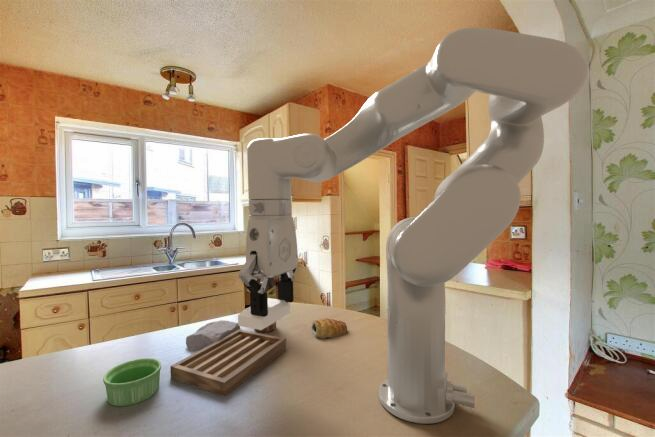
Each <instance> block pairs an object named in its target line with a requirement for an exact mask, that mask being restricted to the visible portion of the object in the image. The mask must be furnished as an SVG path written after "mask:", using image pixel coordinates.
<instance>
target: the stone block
mask: <svg viewBox="0 0 655 437" xmlns="http://www.w3.org/2000/svg"><path fill="white" fill-rule="evenodd" d="M239 329H241V326H238V322H235V321H230V320H225V319H224V320H223V319H220V320H217V321H212V322H208V323H206V324H205V325H202V326H200V327H199V328H198V329H197V330H196V331H195V332H193V333H192V334H189V335H187V336H186V337H185V338H186V339H185V344H186V348H187V349H188V350H191V351H196V352H198V351H200V350H201V349H203V348H205V347H207V346H209V345H211V344H213V343H215V342H216V341H218V340H220V339H222V338H224V337H226V336H228V335H230V334H231V333H233V332H235V331H237V330H239Z"/></svg>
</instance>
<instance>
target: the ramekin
mask: <svg viewBox="0 0 655 437" xmlns="http://www.w3.org/2000/svg"><path fill="white" fill-rule="evenodd" d="M161 370H162V363H161V361H160V360H159V359H156V358H150V357H145V358H143V357H142V358H138V359H132V360H128V361H125V362H122V363H120V364H118V365H116V366H114V367H112V368H110V369H109V370H108V371H107V372H106V373H105V374H104V375H103V377H102V380H103V383H104V386H105V392H106V398H107V402H108V403H109V404H111V405H112V406H113V407H114V406H115V407H126V406H132V405H135V404H139V403H140V402H143V401H145V400H147V399H149V398H151V397H152V396H154V394H155V393H156V392H157V391H158V389H159V388H160V379H161V378H160V374H161Z"/></svg>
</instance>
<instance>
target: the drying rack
mask: <svg viewBox="0 0 655 437" xmlns="http://www.w3.org/2000/svg"><path fill="white" fill-rule="evenodd" d="M285 350H287V338H284V337H279V336H274V335H271V334H270V335H269V334H263V333H262V332H257V331H255V332H254V331H249V330H244V329H241V328H240V329H239V330H237V331H235V332H233V333H231V334H230V335H228V336H226V337H224V338H222V339H220V340H218V341H216V342H215V343H213V344H211V345H209V346H207V347H205V348H203V349H201V350H200V351H196V352H195V353H194V352H193V353H192V354H190V355H188V356H187V357H185V358H183V359H181V360H179V361H177V362H175V363H174V364H172V365H170V369H169V370H170V379H171V380H174V381H176V382H180V383H183V384H186V385H189V386H192V387H194V388H199V389H200V390H201V389H202V390H204V391H208V392H211V393H214V394H216V395H219V396H221V397H222V396H223V397H226V396H228V394H230V393H231V392H232V391H234V390H235V389H237V388H238V387H239V386H240V385H242V384H243V383H245V382H246V380H248V379H250V378H251V377H252V376H253V375H254V374H256V373H257V372H258V371H260V370H261V369H262V368H264V367H265V366H266V365H267V364H269V363H271V361H273V360H274V359H276V358H277V357H278V356H279V355H280V354H282V353H284V352H285Z"/></svg>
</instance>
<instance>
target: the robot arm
mask: <svg viewBox="0 0 655 437" xmlns="http://www.w3.org/2000/svg"><path fill="white" fill-rule="evenodd" d="M587 75H588V64H587V61H586V59H585V57H584V54H583V53H582V52H581V51H580V50H579V49H577V48H576V47H575V46H573V45H572V44H569V43H568V42H566V41H564V40H563V41H562V40H559V39H555V38H550V37H543V36H538V35H531V34H526V33H522V32H521V33H520V32H515V31H509V30H505V29H504V30H503V29H496V28H487V27H465V28H459V29H456V30H454V31H452V32H449V33H448V34H447V35H445V36H444V37H443V38H442V39H441V40H440V42H439V43H438V45H437V46H436V48H435V50H434V52H433V55H432V56H431V59H430V60H429V61H428V62H427V63H425V64H423V65H421V66H419V67H418V68H416V69H414V70H413V71H411V72H410V73H408V74H405V75H403V77H401V78H398V79H397V80H395V81H394V82H392V83H390V84H388V85H387V86H385V87H383V88H381V89H380V90H378V91H376V92H375V93H373V94H371V96H370V97H369V98H367V100H366V101H365V102H364V104H363V105H362V106H361V108H360V109H359V111H358V112H357V113H356V115H355V116H354V117H353V118H352V119H351V120H349V122H348V123H347V124H345V125H344V126H343V127H341V128H340V129H338V130H337V131H336V132H334V133H332V134H331V135H329V136H327V137H326V138H325V137H324V138H323V137H321V136H320V135H318V134H315V133H302V134H301V133H299V134H296V135H292V136H286V137H282V138H281V137H280V138H273V137H271V138H270V137H261V138H260V137H259V138H256V139H253V140H251V141H250V142H249V143H248V144H247V149H246V153H247V156H246V158H247V160H246V161H247V186H248V188H247V189H248V190H247V191H248V221H247V227H246V228H247V229H246V238H245V263H244V264H243V265H242V267H241V269H240V270H239V271H238V277H239V278H240V280H241V281H242V284H243V286H244V287H245V288H246V290H247V292H248V293H249V298H250V299H249V300H250V301H249V302H250V306H249V307H250V308H251V314H252V315H256V316H262V317H265V316H267V315H268V299H267V292H264V291H265V288H266V284H267V281H268V277H269V278H272V277H273V278H275V277H278V278H279V279H278V280H277V299H279V300H285V302H288V303H289V304H290V303H293V302H294V280H295V272H296V270H297V267H298V265H299V254H298V243H297V242H298V241H297V232H296V225H295V221H294V217H293V210H292V207H293V206H292V204H293V203H292V178H295V179H301V180H305V181H308V182H311V183H314V184H315V183H323V182H326V181H328V180H330V179H332V178H334V177H336V176H338V175H340V174H341V173H343V172H345V171H347V170H349V169H350V168H352V167H355V166H356V165H358V164H360V163H361V162H363V161H365V160H366V159H367V158H369V157H371V156H373V155H374V154H376V153H377V152H379V151H381V150H384V149H386V148H387V147H388V146H389V145H391V144H392V143H394V142H396V141H398V140H400V139H401V138H402V137H404V136H406V135H408V134H410V133H412V132H414V131H415V130H417V129H419V128H420V127H423V126H425V125H426V124H428V123H430V122H432V121H433V120H435V119H437V118H439V117H441V116H443V115H445V114H446V113H448V112H449V111H451V110H454V109H455V108H457V107H458V106H460V105H462V104H463V103H465V102H466V101H467V100H469V99H470V98H471V97H472V95H473V94H474V93H475V92H478V93H481V94H486V95H489V97H488V98H489V99H488V103H487V105H488V107H487V108H488V115H489V120H490V129H489V134H488V136H487V137H486V138H485V140H484V141H483V142H482V143H481V144H480V145H479V146H478V147H477V149H476V150H474V151H473V153H471V155H469V157H467V158H466V160H464V162H462V163H461V164H460V165H459V166H458V167H457V168H456V169H455V170H454V171H453V172H452V173H450V174H449V175H448V176H446V178H444V180H442V181H441V182H440V184H439V185H438V186H437V189H436V190H435V192H434V196H433V200H432V201H431V202H430V203H429V204H428V205H427V206H426V207H425V208H424V209H423V210H422V211H421V212H420V213H419V214H418V215H417V216H414V217H413V216H412V217H407V218H404V219H402V220H400V221H398V222H397V223H396V224H394V225H393V227H392V228H391V229H390V231H389V233H388V236H387V239H386V245H385V255H386V257H385V259H386V280H387V283H386V284H387V285H386V286H387V309H386V310H387V314H386V315H387V316H386V317H387V323H386V324H387V326H386V327H387V329H386V330H387V338H386V339H387V378H385V379H384V380H382V382H381V383H380V385H379V387H378V399H379V402H380V403H381V405H382V407H383V408H385V409H386V410H387V411H388V412H389V413H390V414H392V415H394V416H395V417H397V418H400V420H404V421H407V422H411V423H415V424H422V425H423V424H424V425H426V424H428V425H429V424H435V423H441V422H443V421H445V420H447V419H448V418H450V417H451V416H452V415H453V414H454V411H455V405H456V404H457V405H460V406H465V407H468V408H471V409H475V394H473V393H469V392H468V391H467V389H468V386H467V385H461V384H456V383H455V384H454V383H453V382H452V381H451V380H450V381H449V372H447V371H446V313H447V312H446V310H447V308H446V306H447V305H446V303H447V302H446V283H447V282H449V281H450V280H451V279H453V278H454V277H455V276H457V275H458V274H459V273H460V272H462V271H463V270H464V269H465V268H466V267H467V266H468V265H469V264H470V263H472V261H474V260H476V258H477V257H478V256H479V255H480V254H481V253H482V252H483V251H484V250H486V249H487V248H488V246H490V245H492V243H493V242H494V241H495V240H496V239H497V238H498V237H500V236H501V234H503V233H504V232H505V231H506V230H507V228H508V227H509V226H510V225H511V223H512V222H513V221H514V219H515V218H516V216H517V214H518V212H519V208H520V205H521V199H522V194H521V188H520V186H519V184H520V183H521V182H522V181H523V180H524V179H525V177H526V176H528V175H529V173H530V172H531V171H532V170H533V169H534V168H535V166H536V165H537V164H538V163H539V161H540V159H541V157H542V153H543V150H544V144H545V129H544V123H543V119H542V116H544V115H547V114H548V113H550V112H551V111H554V110H556V109H558V108H560V107H562V106H563V105H565V104H567V103H568V102H570V101H571V100H572V99H573V98H574V97H575V96H576V95H578V93H579V92H580V91H581V90H582V88H583V86H584V84H585V83H586V80H587ZM261 273H262V274H261ZM257 278H259V279H261V281H260V284H259V283H258V282H257Z"/></svg>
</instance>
